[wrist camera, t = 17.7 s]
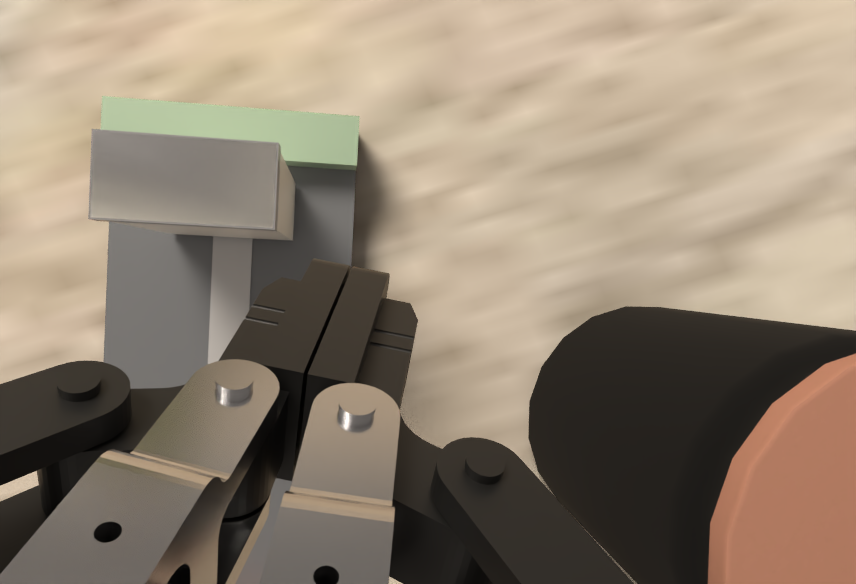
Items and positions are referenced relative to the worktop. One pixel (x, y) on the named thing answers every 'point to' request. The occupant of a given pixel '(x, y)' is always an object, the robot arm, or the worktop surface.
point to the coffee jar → (704, 445)
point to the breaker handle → (191, 185)
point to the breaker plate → (222, 252)
